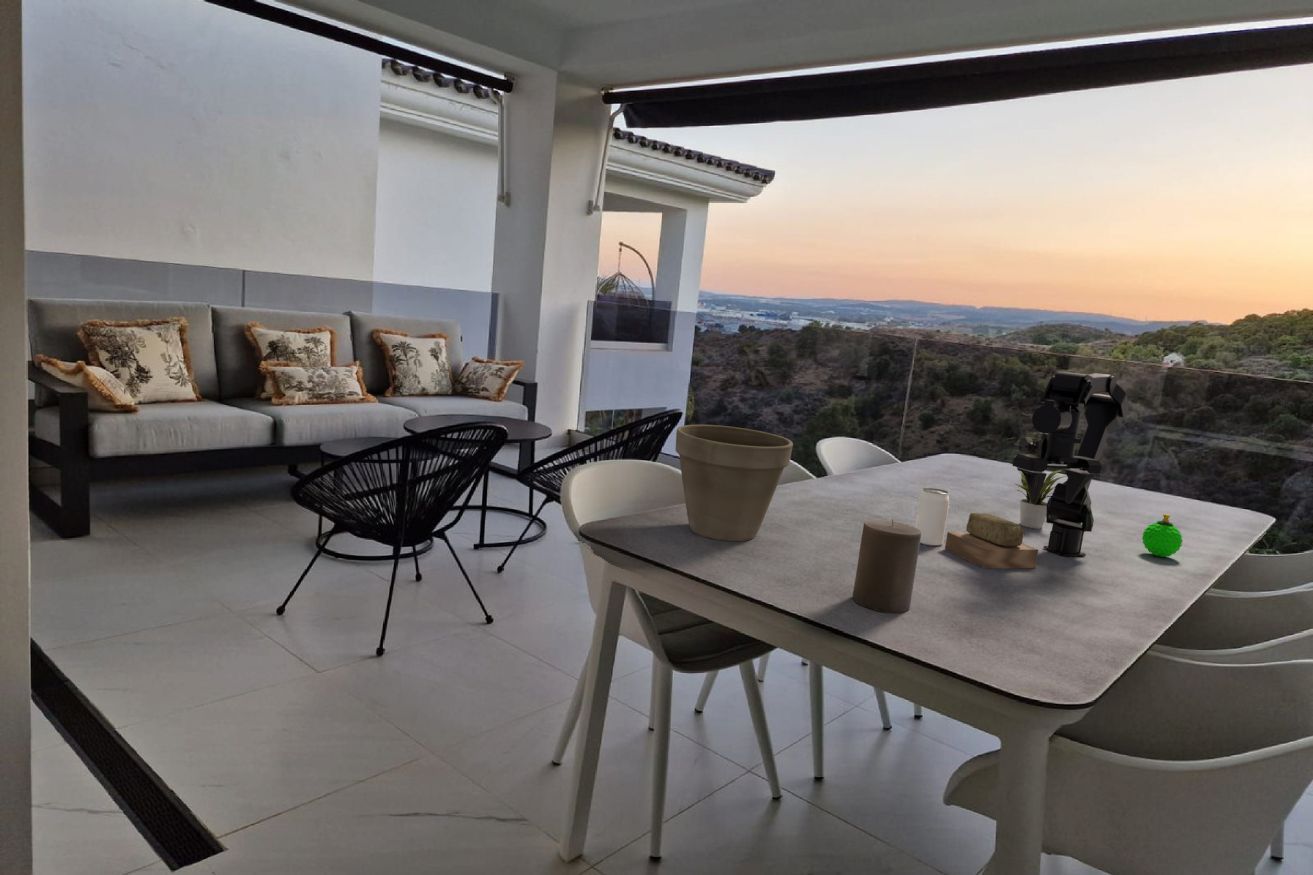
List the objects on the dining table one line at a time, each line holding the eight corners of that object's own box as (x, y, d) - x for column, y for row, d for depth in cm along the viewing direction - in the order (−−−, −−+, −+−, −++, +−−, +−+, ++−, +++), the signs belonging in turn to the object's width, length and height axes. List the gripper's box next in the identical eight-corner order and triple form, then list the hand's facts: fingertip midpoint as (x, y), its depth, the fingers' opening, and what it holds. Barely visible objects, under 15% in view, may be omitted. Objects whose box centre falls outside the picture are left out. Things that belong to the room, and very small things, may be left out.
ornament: (1141, 548, 202) (1148, 508, 200) (1180, 557, 197) (1188, 516, 196) (1137, 555, 195) (1145, 513, 194) (1177, 563, 190) (1185, 521, 189)
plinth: (993, 549, 188) (996, 532, 187) (1035, 567, 176) (1038, 549, 175) (944, 549, 184) (947, 531, 183) (984, 568, 172) (987, 549, 171)
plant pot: (805, 543, 178) (818, 443, 175) (715, 554, 164) (726, 446, 161) (731, 514, 198) (741, 424, 195) (645, 521, 184) (654, 424, 181)
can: (944, 547, 185) (952, 495, 183) (914, 543, 186) (922, 491, 185) (940, 540, 192) (948, 489, 190) (911, 536, 193) (919, 485, 191)
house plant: (1070, 527, 218) (1080, 466, 215) (1063, 537, 206) (1074, 472, 203) (1012, 516, 225) (1021, 456, 222) (1002, 525, 213) (1012, 462, 211)
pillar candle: (876, 615, 138) (889, 527, 136) (841, 594, 147) (853, 511, 144) (922, 612, 142) (936, 526, 140) (885, 592, 151) (897, 511, 148)
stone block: (1002, 548, 173) (1006, 525, 172) (962, 533, 183) (966, 511, 183) (1023, 547, 175) (1027, 524, 175) (982, 532, 186) (986, 511, 185)
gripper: (1068, 427, 188) (1057, 494, 190) (1000, 423, 182) (989, 493, 184) (1108, 435, 177) (1096, 507, 180) (1037, 432, 172) (1025, 505, 174)
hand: (1050, 502), depth 180 cm, fingers open, 9 cm apart
